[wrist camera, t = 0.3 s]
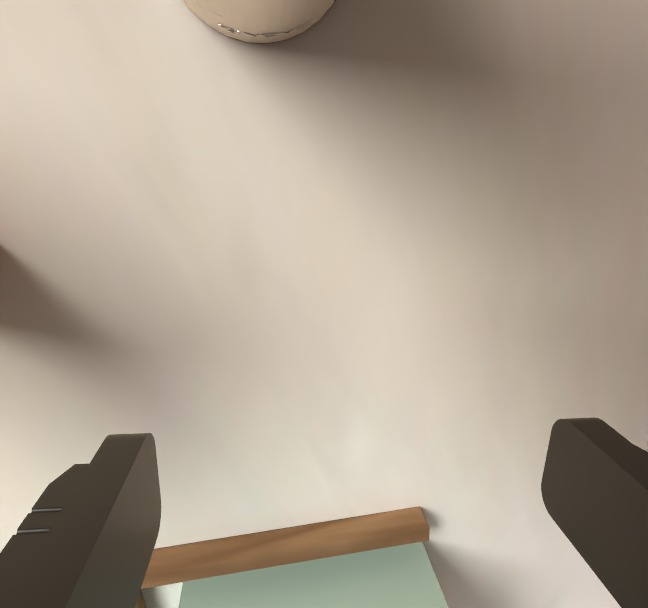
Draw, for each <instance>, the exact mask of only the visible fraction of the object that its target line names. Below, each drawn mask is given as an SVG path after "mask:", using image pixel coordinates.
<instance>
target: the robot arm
mask: <svg viewBox="0 0 648 608" xmlns="http://www.w3.org/2000/svg"><path fill="white" fill-rule="evenodd" d="M182 1H183V2H184V3H185V4H186V6H187V7H188V8H189V9H190V10H191V11H192V12H193V13H194V14H195V15H196V16H198V17H199V18H200V19H201V20H202V21H203V22H205V23H206V24H207V25H208V26H210V27H212V28H214V29H215V30H217V31H219V32H221V33H223V34H224V35H226V36H229V37H232V38H235V39H239V40H242V41H245V42H256V43H270V42H276V41H282V40H286V39H289V38H291V37H293V36H295V35H298V34H300V33H302V32H304V31H306V30H307V29H308V28H309V27H311V26H312V25H313V24H315V23H316V22H317V21H319V20H320V19H321V18H322V16H323V15H324V14H325V13H326V12H327V10H328V9H329V8H330V7H331V6H332V4H333V3H334V1H335V0H182ZM541 490H542V497H543V501H544V504H545V507H546V509H547V511H548V513H549V514H550V516H551V517H552V518H553V520H554V521H555V522H556V524H557V525H558V526H559V528H560V529H561V530H562V531H563V533H564V534H565V535H566V537H567V538H568V539H569V540H570V542H571V543H572V544H573V546H574V547H575V548H576V549H577V551H578V552H579V553H580V555H581V556H582V557H583V558H584V560H585V561H586V562H587V564H588V565H589V566H590V568H591V569H592V570H593V571H594V573H595V574H596V575H597V577H598V578H599V579H600V580H601V582H602V583H603V584H604V586H605V587H606V588H607V589H608V591H609V592H610V593H611V595H612V596H613V597H614V599H615V600H616V601H617V602H618V604H619V605H620V606H621V608H648V452H647V451H645V450H643V449H641V448H639V447H637V446H635V445H633V444H632V443H631V442H629V441H628V440H627V439H626V438H624V437H623V436H622V435H620V434H619V433H618V432H617V431H615V430H614V429H613V428H612V427H610V426H609V425H608V424H607V423H605V422H604V421H603V420H601V419H599V418H575V419H559V420H557V421H556V422H555V423H554V425H553V427H552V431H551V436H550V441H549V446H548V451H547V456H546V462H545V467H544V472H543V477H542V483H541ZM160 519H161V497H160V487H159V477H158V467H157V458H156V448H155V441H154V437H153V435H152V434H151V433H144V434H117V435H108V436H107V437H106V438H105V440H104V441H103V443H102V445H101V446H100V448H99V449H98V451H97V453H96V454H95V456H94V458H93V459H92V461H91V462H90V464H75V465H73V466H72V467H71V468H70V469H68V470H67V471H66V472H64V473H63V474H62V475H61V476H59V477H58V478H57V479H55V480H54V481H53V482H51V483H50V484H49V485H48V486H47V488H46V489H45V491H44V492H43V493H42V495H41V496H40V498H39V499H38V501H37V502H36V503H35V505H34V506H33V508H32V512H31V513H28V515H27V516H26V518H25V519H24V520H23V522H22V523H21V525H20V526H19V528H18V529H17V534H16V535H13V536H12V537H11V539H10V540H9V542H8V543H7V545H6V546H5V547H4V549H3V550H2V552H1V553H0V608H135V606H136V603H137V600H138V596H139V593H140V590H141V587H142V584H143V581H144V578H145V574H146V571H147V568H148V565H149V562H150V559H151V555H152V552H153V549H154V546H155V543H156V540H157V536H158V532H159V527H160Z"/></svg>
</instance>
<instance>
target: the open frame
mask: <svg viewBox="0 0 648 608" xmlns="http://www.w3.org/2000/svg"><path fill="white" fill-rule="evenodd" d="M423 541H429V526H428V524H427V521H426V519H425V517H424V514H423V512H422V510H421V508H420V507H415V508H409V509H403V510H396V511H390V512H384V513H378V514H371V515H365V516H359V517H353V518H346V519H340V520H334V521H328V522H321V523H315V524H309V525H303V526H296V527H290V528H284V529H278V530H271V531H265V532H259V533H253V534H247V535H240V536H234V537H228V538H222V539H215V540H209V541H203V542H197V543H190V544H184V545H178V546H172V547H165V548H159V549H153V552H152V555H151V559H150V562H149V565H148V568H147V571H146V574H145V578H144V581H143V584H142V587H141V589H143V588H149V587H155V586H161V585H167V584H173V583H179V582H185V581H191V580H197V579H203V578H209V577H215V576H221V575H227V574H232V573H238V572H244V571H250V570H256V569H262V568H268V567H274V566H280V565H286V564H292V563H298V562H304V561H310V560H316V559H322V558H328V557H334V556H340V555H346V554H351V553H357V552H363V551H369V550H375V549H381V548H387V547H393V546H399V545H405V544H411V543H417V542H423ZM135 608H146V607H145V604H144V601H143V597H142V594H141V591H140V593H139V596H138V600H137V603H136V606H135Z"/></svg>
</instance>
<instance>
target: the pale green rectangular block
mask: <svg viewBox="0 0 648 608" xmlns="http://www.w3.org/2000/svg"><path fill="white" fill-rule="evenodd" d="M179 608H449V607H448V605H447V602H446V600H445V597H444V595H443V592H442V590H441V587H440V585H439V582H438V580H437V577H436V575H435V572H434V570H433V567H432V565H431V562H430V560H429V557H428V555H427V552H426V550H425V547H424V545H423V542H417V543H411V544H405V545H399V546H393V547H387V548H381V549H375V550H369V551H363V552H357V553H351V554H346V555H340V556H334V557H328V558H322V559H316V560H310V561H304V562H298V563H292V564H286V565H280V566H274V567H268V568H262V569H256V570H250V571H244V572H238V573H232V574H227V575H221V576H215V577H209V578H203V579H197V580H191V581H185V582H183V586H182V591H181V597H180V603H179Z"/></svg>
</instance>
